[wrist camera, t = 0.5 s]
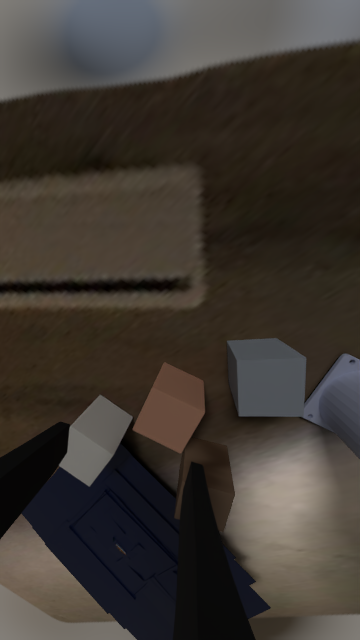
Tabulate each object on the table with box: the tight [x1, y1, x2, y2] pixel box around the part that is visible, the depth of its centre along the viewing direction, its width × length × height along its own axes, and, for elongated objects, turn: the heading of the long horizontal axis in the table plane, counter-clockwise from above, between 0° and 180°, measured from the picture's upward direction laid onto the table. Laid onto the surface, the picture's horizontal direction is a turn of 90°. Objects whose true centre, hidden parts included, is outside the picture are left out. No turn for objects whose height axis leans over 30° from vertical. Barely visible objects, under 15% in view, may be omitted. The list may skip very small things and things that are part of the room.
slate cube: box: [227, 338, 306, 417], centre depth 16 cm, size 5×5×5 cm
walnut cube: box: [174, 437, 235, 532], centre depth 19 cm, size 5×5×5 cm
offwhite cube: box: [59, 395, 133, 487], centre depth 19 cm, size 5×5×5 cm
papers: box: [22, 443, 271, 640], centre depth 24 cm, size 24×30×4 cm
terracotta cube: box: [132, 362, 205, 454], centre depth 17 cm, size 5×5×5 cm
